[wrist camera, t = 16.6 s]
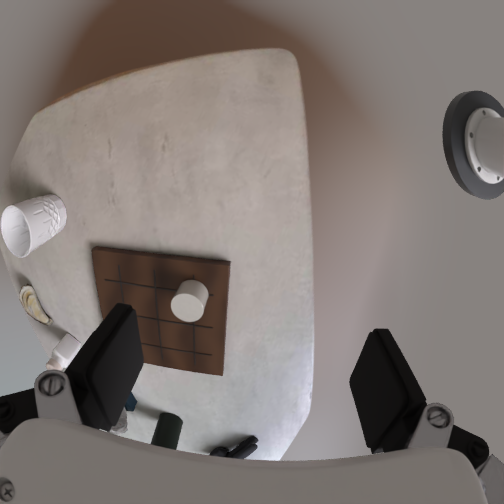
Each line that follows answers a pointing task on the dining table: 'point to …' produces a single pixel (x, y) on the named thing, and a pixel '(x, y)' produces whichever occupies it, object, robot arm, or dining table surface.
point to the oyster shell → (33, 305)
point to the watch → (124, 416)
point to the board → (167, 305)
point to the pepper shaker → (63, 353)
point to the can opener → (237, 450)
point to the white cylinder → (189, 301)
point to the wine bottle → (167, 431)
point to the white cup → (32, 223)
